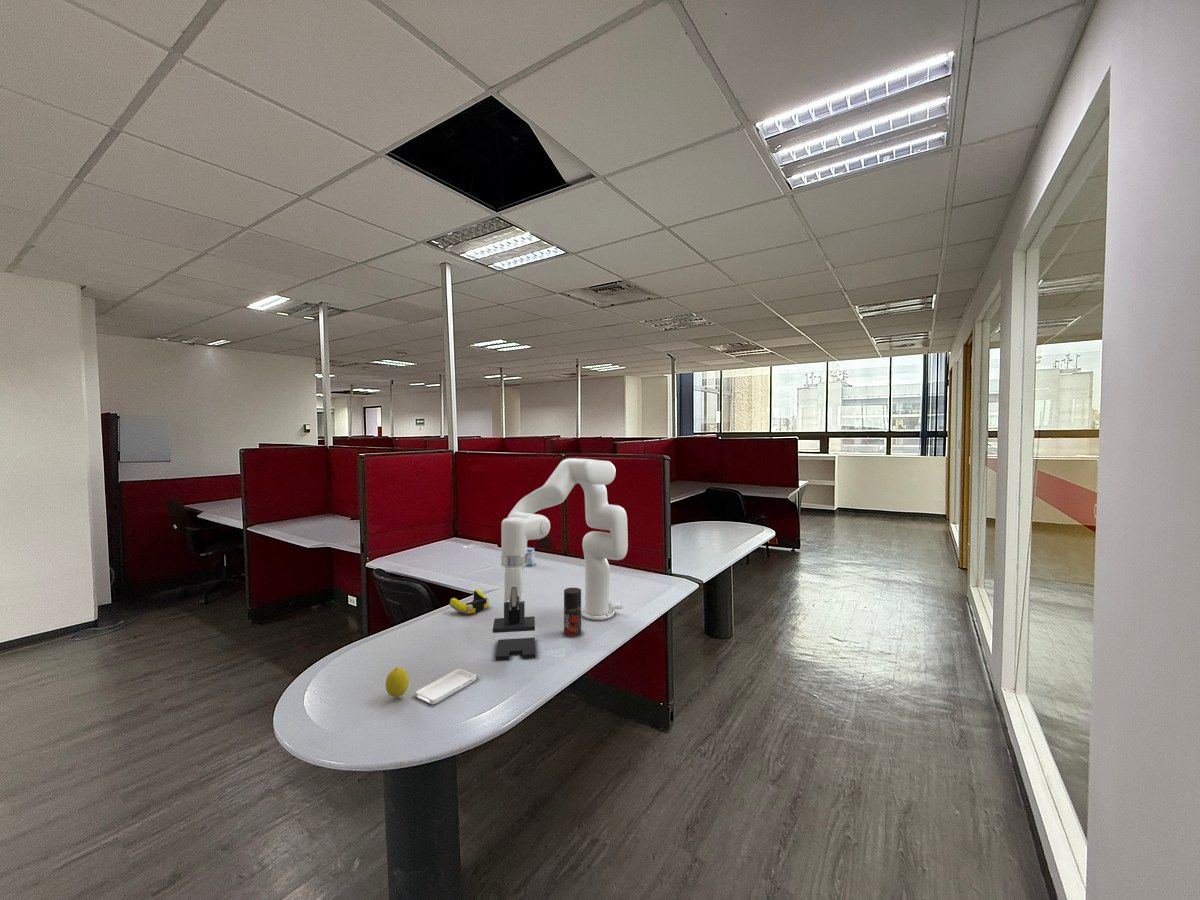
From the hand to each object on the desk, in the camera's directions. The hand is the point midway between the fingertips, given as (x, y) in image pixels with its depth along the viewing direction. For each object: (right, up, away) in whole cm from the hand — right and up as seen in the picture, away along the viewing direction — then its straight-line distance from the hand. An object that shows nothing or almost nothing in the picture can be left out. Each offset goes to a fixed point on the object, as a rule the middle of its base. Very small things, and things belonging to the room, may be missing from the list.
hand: (514, 620), depth 142 cm
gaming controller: (-25, -12, +45) cm, 53 cm away
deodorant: (+16, -13, +23) cm, 31 cm away
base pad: (-1, -13, +10) cm, 17 cm away
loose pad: (0, -2, +1) cm, 2 cm away
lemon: (-27, -14, -17) cm, 35 cm away
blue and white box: (-13, -10, +108) cm, 110 cm away
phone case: (-16, -14, -12) cm, 25 cm away
